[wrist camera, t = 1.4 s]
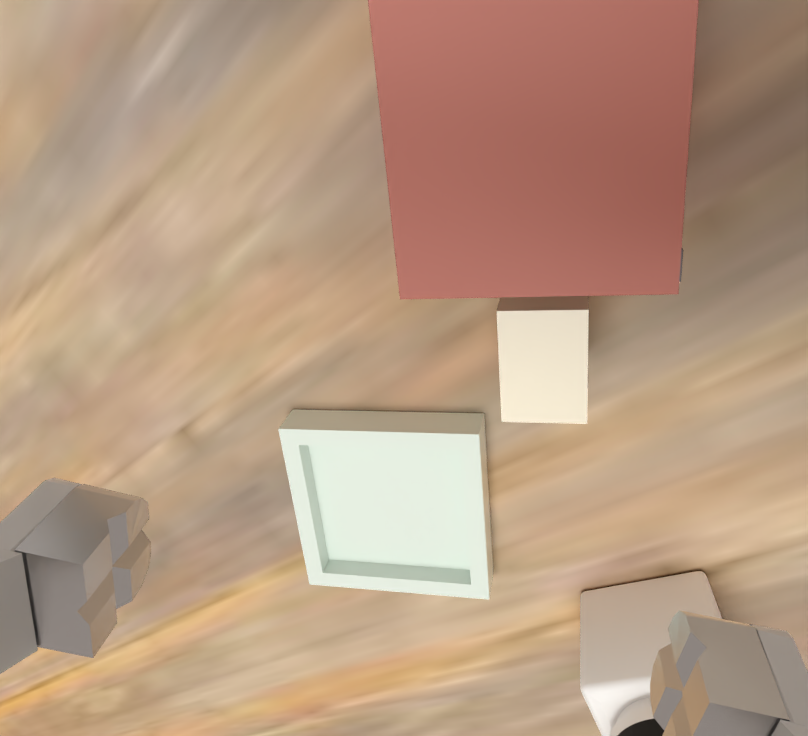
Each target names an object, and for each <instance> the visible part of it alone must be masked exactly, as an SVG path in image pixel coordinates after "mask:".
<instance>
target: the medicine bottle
mask: <svg viewBox="0 0 808 736" xmlns="http://www.w3.org/2000/svg"><path fill="white" fill-rule="evenodd" d="M679 610H681V611H686V612H691V613H696V614H701V615H706V616H711V617H716V618H721V619H722V617H721V614H720V611H719V609H718V606H717V603H716V600H715V597H714V595H713V592H712V589H711V586H710V584H709V581H708V578H707V576H706V574H705V573H704V572H702V571H695V572H690V573H684V574H679V575H673V576H668V577H662V578H656V579H651V580H645V581H640V582H634V583H628V584H623V585H617V586H612V587H606V588H600V589H595V590H589V591H584V592H582V594H581V596H580V689H581V692H582V694H583V696H584V699H585V701H586V703H587V705H588V707H589V709H590V711H591V714H592V716H593V718H594V720H595V722H596V724H597V726H598V728H599V731H600V733H601V735H602V736H662V735H663V733H664V730H663V728H662V727H661V726H660V725H659V723H658V722H657V721H656V720H655V718H654V717H653V714H652V707H651V701H650V682H651V675H652V668H653V664H654V662H655V659H656V656H657V654H658V651H659V650H660V649H662V648H664V647H665V646H667V645H669V644H671V641H670V636H669V632H668V627H669V625H670V623H671V621H672V618H673V616H674V615H675V614H676V613H677V612H678V611H679Z"/></svg>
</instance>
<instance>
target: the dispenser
mask: <svg viewBox="0 0 808 736" xmlns="http://www.w3.org/2000/svg"><path fill="white" fill-rule="evenodd" d="M698 2H699V0H368V4H369V14H370V23H371V32H372V42H373V51H374V60H375V70H376V79H377V88H378V98H379V107H380V116H381V126H382V135H383V144H384V154H385V163H386V172H387V182H388V191H389V200H390V210H391V219H392V228H393V238H394V247H395V256H396V266H397V275H398V284H399V294H400V299H444V298H498V297H553V296H607V295H662V294H678V292H679V282H681V273H682V259H683V249H682V234H683V219H684V205H685V190H686V176H687V161H688V147H689V132H690V118H691V103H692V89H693V74H694V60H695V46H696V31H697V17H698Z"/></svg>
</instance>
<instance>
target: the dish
mask: <svg viewBox="0 0 808 736" xmlns="http://www.w3.org/2000/svg"><path fill="white" fill-rule="evenodd" d="M278 430H279V435H280V439H281V444H282V449H283V454H284V459H285V464H286V469H287V474H288V479H289V484H290V489H291V494H292V499H293V504H294V509H295V514H296V519H297V524H298V529H299V534H300V539H301V544H302V549H303V554H304V559H305V564H306V569H307V574H308V579H309V584H311V585H323V586H335V587H347V588H359V589H370V590H382V591H394V592H406V593H418V594H430V595H442V596H454V597H466V598H478V599H490V592H491V586H492V580H493V556H492V539H491V522H490V504H489V487H488V470H487V453H486V435H485V418H484V413H443V412H395V411H348V410H300V409H293V410H292V411H291V412H290V414H289V415H288V416H287V418H286V419H285V421H284V422H283V423H282V425H281V426H280V427H279V429H278Z"/></svg>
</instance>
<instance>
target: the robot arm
mask: <svg viewBox="0 0 808 736" xmlns="http://www.w3.org/2000/svg"><path fill="white" fill-rule="evenodd" d="M148 520H149V510H148V502H147V501H146V500H144V499H143V498H141V497H137V496H133V495H128V494H124V493H120V492H116V491H111V490H107V489H103V488H99V487H94V486H90V485H86V484H83V485H82V484H78V483H74V482H70V481H66V480H62V479H58V478H51V479H48V480H45V481H44V482H42V483H41V484H40V485H39V486H38V487H37V488H36V489H35V490H34V491H33V492H32V493H31V494H30V495H29V496H28V497H27V498H25V499H24V500H23V501H22V502H21V503H20V504H19V505H18V506H17V507H16V508H15V509H14V510H13V511H12V512H11V513H10V514H9V515H8V516H7V517H5V518H4V519H3V520H2V521H1V522H0V674H1V673H2V672H4V671H6V670H7V669H9V668H10V667H12V666H13V665H15V664H17V663H18V662H20V661H21V660H23V659H25V658H26V657H28V656H29V655H31V654H32V653H34V652H36V651H37V650H38V648H37V647H41V648H46V649H51V650H56V651H61V652H66V653H71V654H76V655H81V656H86V657H91V658H94V656H95V655H96V653H97V652H98V650H99V649H100V647H101V646H102V644H103V643H104V642H105V640H106V639H107V637H108V636H109V634H110V633H111V631H112V630H113V628H114V627H115V625H116V624H117V615H116V609H117V608H119V607H121V606H123V605H125V604H127V603H129V602H131V601H132V600H133V599H134V597H135V596H136V594H137V593H138V591H139V590H140V588H141V587H142V584H143V582H144V579H145V576H146V574H147V571H148V569H149V563H150V556H151V541H150V540H149V539H148V537H147V536H146V535H145V533H144V532H143V531H142V528H143V527H144V525H145V524H146V523H147V521H148ZM668 632H669V636H670V641H671V644H669V645H667V646H665V647H664V648H662V649H660V650H659V651H658V654H657V656H656V659H655V662H654V664H653V668H652V675H651V682H650V701H651V707H652V714H653V717H654V718H655V720H656V721H657V722H658V723H659V725H660V726H661V727H662V728H663V730H664V733H663V735H662V736H808V671H807V669H806V667H805V664H804V662H803V660H802V658H801V655H800V653H799V651H798V648H797V646H796V644H795V641H794V639H793V637H792V636H791V635H790V634H789V633H788V632H787V631H784V630H779V629H774V628H768V627H763V626H758V625H753V624H749V625H748V624H745V623H740V622H735V621H730V620H725V619H721V618H716V617H711V616H706V615H701V614H696V613H691V612H686V611H681V610H679V611H678V612H677V613H676V614H675V615H674V616H673V618H672V621H671V623H670V625H669V627H668Z"/></svg>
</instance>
